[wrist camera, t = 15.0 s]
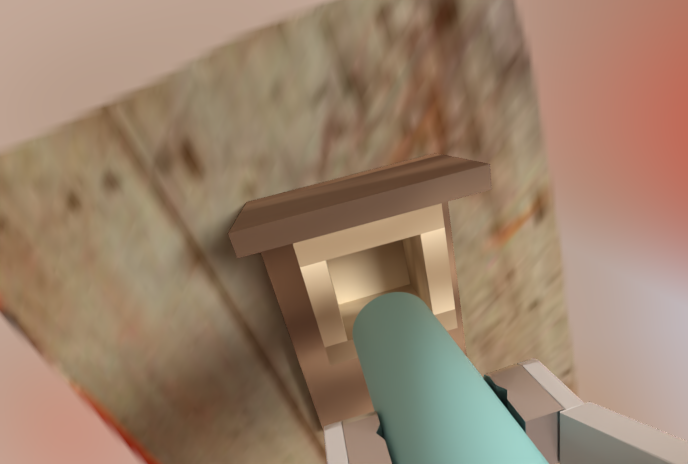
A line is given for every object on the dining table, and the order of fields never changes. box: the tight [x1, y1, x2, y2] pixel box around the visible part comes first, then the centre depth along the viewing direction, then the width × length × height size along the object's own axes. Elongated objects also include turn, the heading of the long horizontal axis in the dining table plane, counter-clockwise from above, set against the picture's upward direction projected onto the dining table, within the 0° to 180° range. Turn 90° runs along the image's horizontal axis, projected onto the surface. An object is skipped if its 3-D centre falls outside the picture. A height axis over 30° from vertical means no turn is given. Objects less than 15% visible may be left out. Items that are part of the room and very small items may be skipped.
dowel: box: [352, 292, 549, 464], centre depth 8 cm, size 3×3×10 cm
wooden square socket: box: [293, 203, 458, 366], centre depth 18 cm, size 7×7×5 cm
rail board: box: [228, 153, 492, 432], centre depth 20 cm, size 19×12×6 cm, turn 13°
